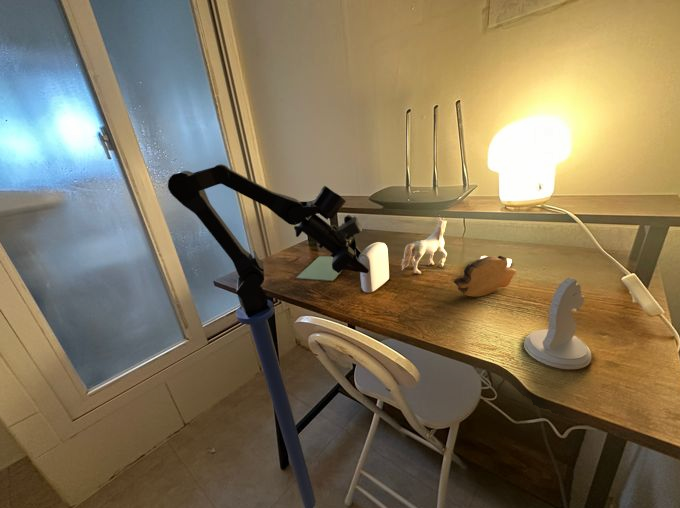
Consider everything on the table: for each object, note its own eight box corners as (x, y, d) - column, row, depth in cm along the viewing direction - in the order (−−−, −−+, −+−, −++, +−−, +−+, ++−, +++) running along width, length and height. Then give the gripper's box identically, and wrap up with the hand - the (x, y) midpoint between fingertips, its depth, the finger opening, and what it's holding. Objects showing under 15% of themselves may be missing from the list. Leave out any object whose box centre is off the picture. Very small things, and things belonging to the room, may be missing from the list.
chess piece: (603, 355, 53) (629, 278, 46) (568, 378, 49) (591, 299, 43) (545, 328, 61) (560, 260, 54) (512, 346, 58) (523, 276, 51)
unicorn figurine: (457, 259, 95) (460, 217, 89) (419, 282, 85) (419, 237, 79) (437, 254, 101) (438, 215, 95) (399, 275, 91) (398, 232, 85)
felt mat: (332, 281, 93) (332, 280, 93) (296, 278, 99) (296, 277, 98) (352, 258, 107) (352, 257, 107) (319, 257, 113) (319, 256, 113)
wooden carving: (500, 281, 80) (504, 245, 75) (515, 287, 76) (521, 250, 72) (449, 298, 75) (450, 262, 71) (462, 306, 72) (465, 268, 67)
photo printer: (372, 294, 83) (368, 252, 77) (359, 291, 85) (355, 250, 80) (391, 279, 89) (389, 239, 84) (378, 276, 92) (376, 237, 86)
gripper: (339, 218, 68) (391, 259, 71) (342, 201, 85) (384, 234, 88) (311, 254, 73) (361, 290, 76) (319, 231, 89) (359, 262, 93)
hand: (367, 267), depth 83 cm, fingers closed on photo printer, 6 cm apart
